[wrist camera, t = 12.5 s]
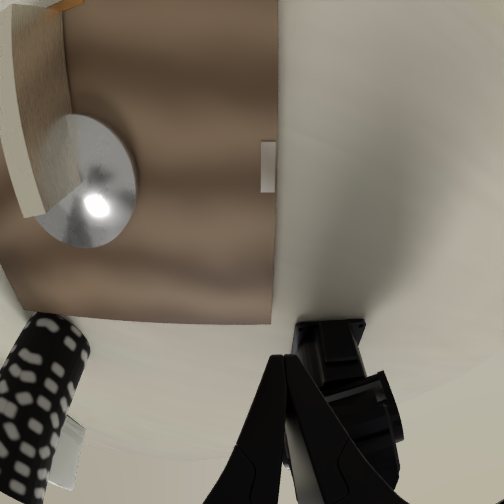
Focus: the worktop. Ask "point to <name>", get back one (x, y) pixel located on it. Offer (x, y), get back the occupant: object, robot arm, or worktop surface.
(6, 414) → the white-spotted black cylinder
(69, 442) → the skincare box
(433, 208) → the worktop surface
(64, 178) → the cream block with dome
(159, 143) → the dial plate
